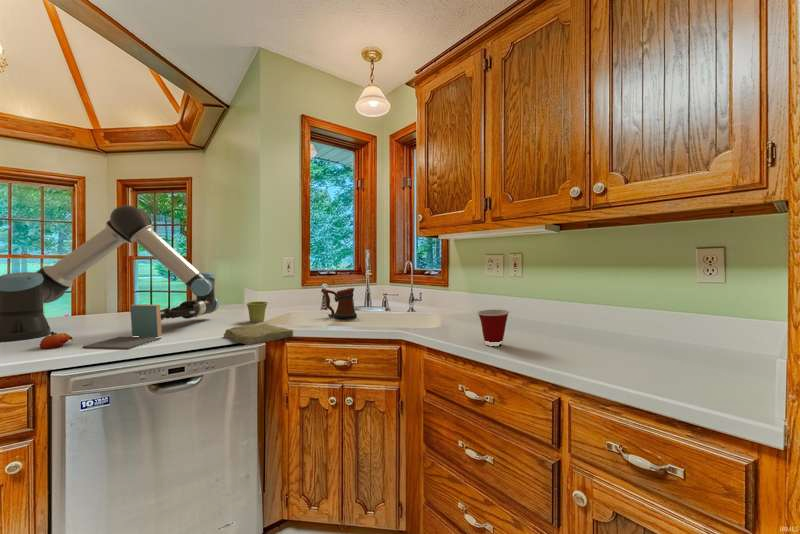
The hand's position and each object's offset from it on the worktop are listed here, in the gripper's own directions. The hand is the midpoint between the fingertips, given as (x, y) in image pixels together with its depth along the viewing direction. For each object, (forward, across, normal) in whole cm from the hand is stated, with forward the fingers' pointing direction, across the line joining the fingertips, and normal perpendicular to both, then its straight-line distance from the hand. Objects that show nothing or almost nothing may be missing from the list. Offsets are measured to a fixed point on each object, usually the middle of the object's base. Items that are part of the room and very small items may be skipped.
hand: (150, 318), depth 132 cm
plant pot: (-34, -25, -7) cm, 43 cm away
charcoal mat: (+11, +1, -7) cm, 13 cm away
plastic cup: (0, -126, -7) cm, 127 cm away
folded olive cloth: (-4, -40, -8) cm, 40 cm away
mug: (-49, -60, -7) cm, 77 cm away
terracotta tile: (+1, 0, -7) cm, 7 cm away
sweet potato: (+17, +19, -7) cm, 27 cm away
